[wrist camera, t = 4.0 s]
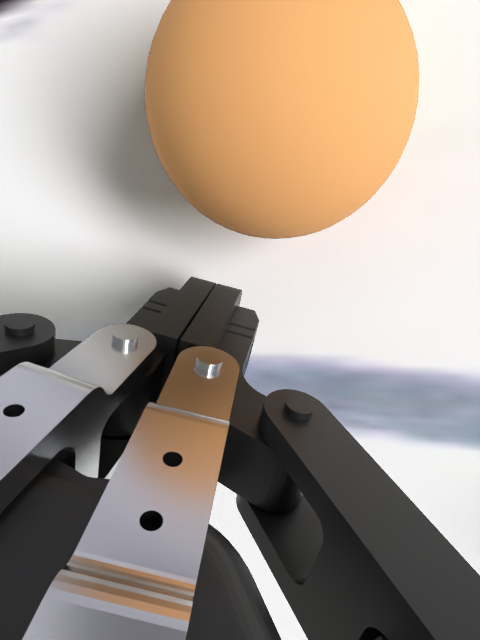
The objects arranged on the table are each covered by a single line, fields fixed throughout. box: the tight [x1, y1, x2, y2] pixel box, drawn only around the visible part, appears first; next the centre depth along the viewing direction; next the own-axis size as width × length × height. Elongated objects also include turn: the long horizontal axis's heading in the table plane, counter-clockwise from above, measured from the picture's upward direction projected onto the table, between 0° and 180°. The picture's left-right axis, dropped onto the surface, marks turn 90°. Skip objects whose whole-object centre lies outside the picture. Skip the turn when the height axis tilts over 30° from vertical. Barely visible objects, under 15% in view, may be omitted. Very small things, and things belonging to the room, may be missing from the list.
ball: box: [145, 0, 419, 239], centre depth 9 cm, size 6×6×6 cm
